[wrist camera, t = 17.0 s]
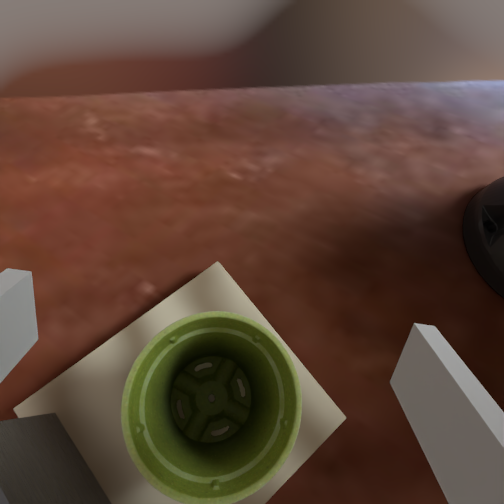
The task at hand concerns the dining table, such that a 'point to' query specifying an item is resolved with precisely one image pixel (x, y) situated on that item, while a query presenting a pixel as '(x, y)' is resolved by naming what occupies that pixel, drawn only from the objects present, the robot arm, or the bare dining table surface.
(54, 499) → the bookend
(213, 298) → the shelf board
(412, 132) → the dining table surface
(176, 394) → the plant pot
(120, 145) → the dining table surface
